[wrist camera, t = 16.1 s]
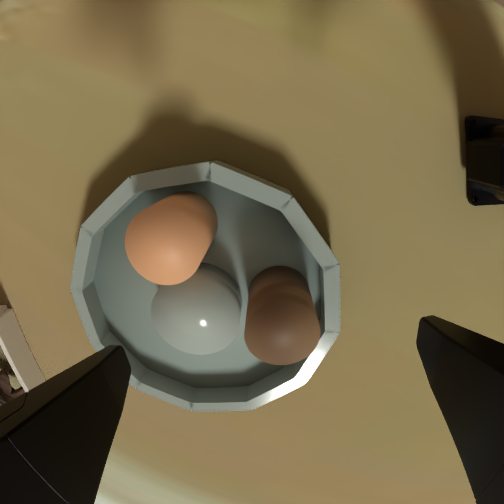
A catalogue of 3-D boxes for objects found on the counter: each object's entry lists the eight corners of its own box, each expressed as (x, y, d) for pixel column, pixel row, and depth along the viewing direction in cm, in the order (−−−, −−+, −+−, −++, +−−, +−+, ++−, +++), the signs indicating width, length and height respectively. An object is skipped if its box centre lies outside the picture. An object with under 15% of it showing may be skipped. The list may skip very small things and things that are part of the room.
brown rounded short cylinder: (307, 262, 20) (319, 297, 15) (310, 316, 21) (321, 361, 17) (245, 268, 20) (239, 306, 16) (252, 322, 22) (249, 367, 17)
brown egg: (222, 249, 20) (209, 281, 15) (163, 255, 20) (135, 288, 16) (212, 186, 19) (194, 200, 14) (151, 196, 19) (117, 212, 14)
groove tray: (323, 148, 19) (334, 148, 16) (332, 380, 24) (338, 407, 21) (67, 190, 20) (41, 198, 17) (129, 388, 26) (117, 411, 23)
